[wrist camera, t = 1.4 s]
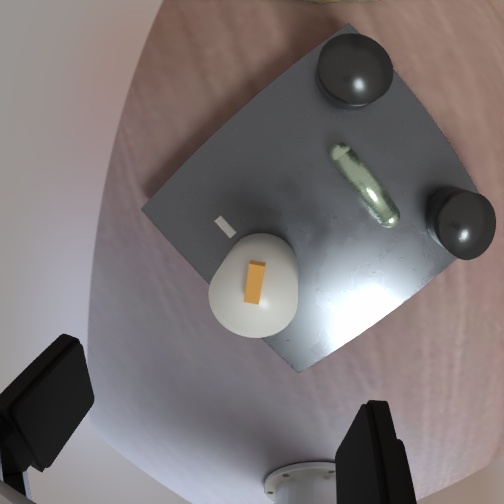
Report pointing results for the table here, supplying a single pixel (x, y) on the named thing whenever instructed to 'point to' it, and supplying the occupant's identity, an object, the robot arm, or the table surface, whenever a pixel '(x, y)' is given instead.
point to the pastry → (334, 0)
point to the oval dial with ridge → (256, 286)
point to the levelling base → (330, 193)
